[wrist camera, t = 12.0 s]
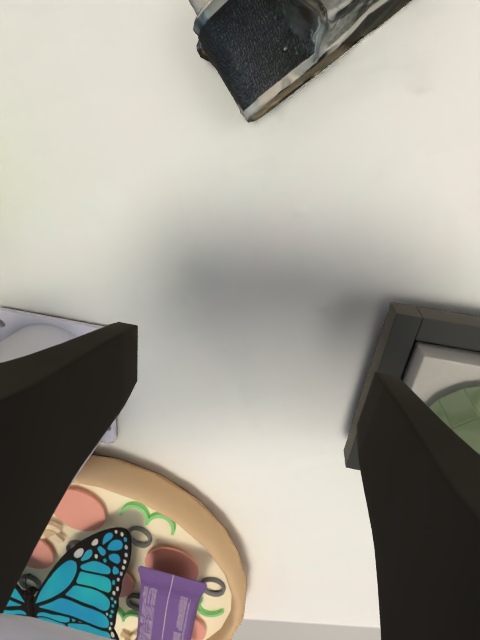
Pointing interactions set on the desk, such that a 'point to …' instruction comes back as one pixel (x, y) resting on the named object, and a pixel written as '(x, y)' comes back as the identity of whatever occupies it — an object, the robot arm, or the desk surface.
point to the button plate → (440, 371)
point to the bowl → (461, 414)
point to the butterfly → (81, 585)
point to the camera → (280, 42)
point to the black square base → (411, 349)
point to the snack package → (167, 605)
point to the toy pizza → (148, 542)
